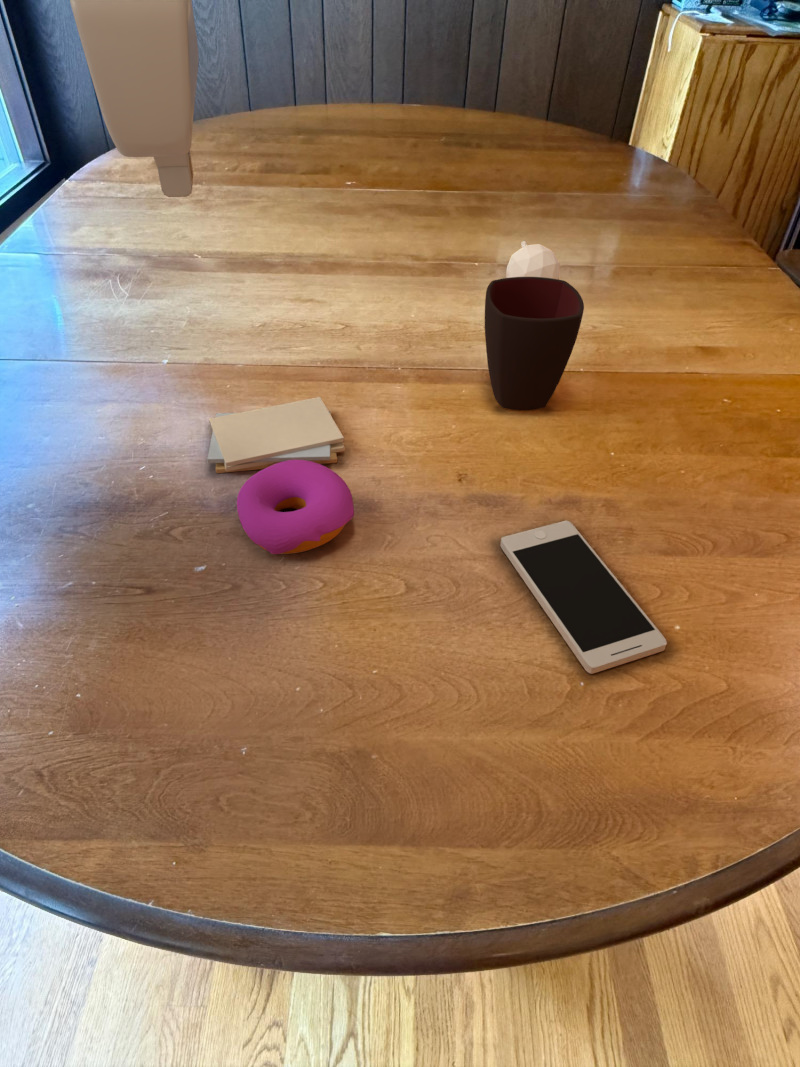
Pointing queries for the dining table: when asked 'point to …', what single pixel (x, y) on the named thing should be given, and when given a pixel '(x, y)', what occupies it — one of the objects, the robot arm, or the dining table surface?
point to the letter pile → (274, 436)
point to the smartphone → (582, 597)
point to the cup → (529, 338)
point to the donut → (294, 506)
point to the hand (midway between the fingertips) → (179, 189)
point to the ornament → (533, 262)
